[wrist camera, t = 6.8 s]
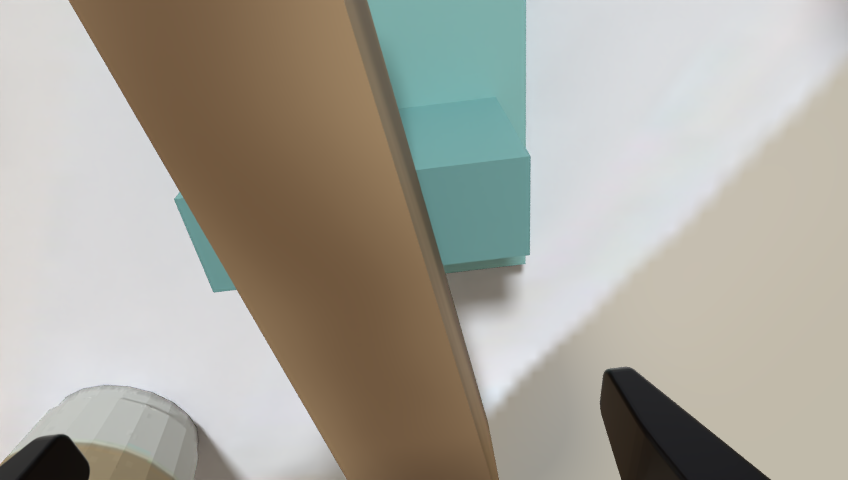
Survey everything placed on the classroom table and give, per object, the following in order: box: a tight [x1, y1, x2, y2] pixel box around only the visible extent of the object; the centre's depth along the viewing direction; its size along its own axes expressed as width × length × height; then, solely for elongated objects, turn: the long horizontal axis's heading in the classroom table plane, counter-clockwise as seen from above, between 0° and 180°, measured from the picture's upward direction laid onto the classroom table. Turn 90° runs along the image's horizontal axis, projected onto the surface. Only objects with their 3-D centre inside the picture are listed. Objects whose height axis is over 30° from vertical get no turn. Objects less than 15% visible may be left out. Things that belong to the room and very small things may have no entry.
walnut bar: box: [69, 0, 499, 480], centre depth 12 cm, size 4×18×4 cm, turn 14°
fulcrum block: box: [174, 0, 530, 292], centre depth 16 cm, size 11×11×6 cm
